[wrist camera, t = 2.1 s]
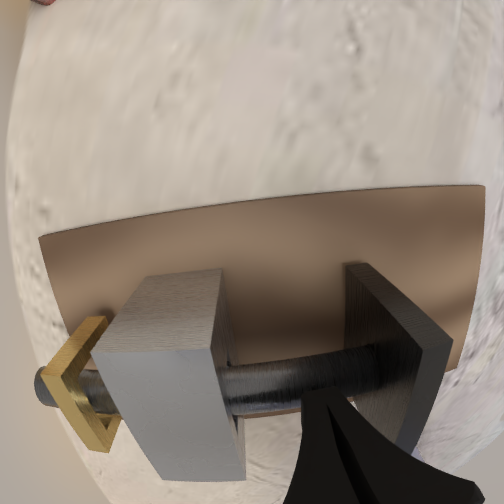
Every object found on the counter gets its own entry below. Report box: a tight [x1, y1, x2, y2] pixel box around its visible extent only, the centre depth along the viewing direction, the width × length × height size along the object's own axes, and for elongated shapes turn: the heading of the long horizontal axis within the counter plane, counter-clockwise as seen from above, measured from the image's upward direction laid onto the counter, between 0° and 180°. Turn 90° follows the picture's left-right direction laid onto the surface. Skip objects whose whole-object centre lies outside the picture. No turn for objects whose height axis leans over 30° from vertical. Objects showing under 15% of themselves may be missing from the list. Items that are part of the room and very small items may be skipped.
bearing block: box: [90, 267, 246, 482], centre depth 12 cm, size 8×4×7 cm, turn 7°
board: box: [38, 185, 485, 420], centre depth 16 cm, size 14×27×1 cm, turn 97°
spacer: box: [40, 316, 122, 453], centre depth 12 cm, size 5×1×5 cm, turn 7°
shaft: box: [34, 262, 454, 455], centre depth 12 cm, size 7×17×7 cm, turn 97°
